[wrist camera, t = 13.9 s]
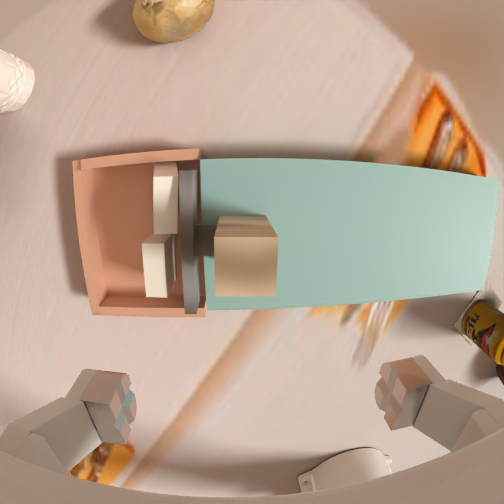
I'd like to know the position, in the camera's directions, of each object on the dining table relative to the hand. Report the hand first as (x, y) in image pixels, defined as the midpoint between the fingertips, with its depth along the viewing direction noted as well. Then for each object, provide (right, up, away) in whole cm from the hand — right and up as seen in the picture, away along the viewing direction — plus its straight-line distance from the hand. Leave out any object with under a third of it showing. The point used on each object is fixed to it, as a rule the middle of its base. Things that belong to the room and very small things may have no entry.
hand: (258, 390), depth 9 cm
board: (+12, +7, +23) cm, 27 cm away
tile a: (-8, +3, +20) cm, 22 cm away
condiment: (+34, -5, +28) cm, 45 cm away
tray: (-11, +6, +22) cm, 26 cm away
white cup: (-29, +24, +16) cm, 41 cm away
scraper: (-3, +5, +19) cm, 20 cm away
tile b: (-7, +9, +18) cm, 21 cm away
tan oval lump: (-8, +29, +16) cm, 34 cm away
